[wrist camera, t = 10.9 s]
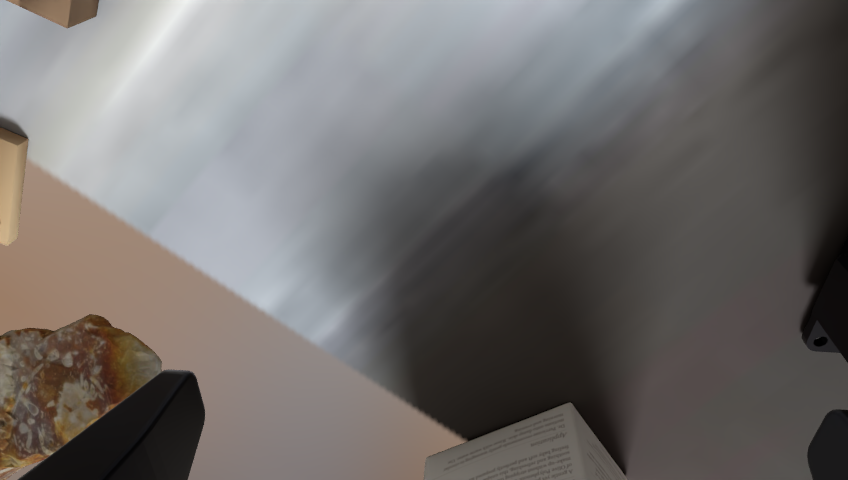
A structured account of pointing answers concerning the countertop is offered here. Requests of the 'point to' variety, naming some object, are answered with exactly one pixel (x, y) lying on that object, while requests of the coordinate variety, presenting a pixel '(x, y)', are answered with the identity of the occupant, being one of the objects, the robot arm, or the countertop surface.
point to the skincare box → (529, 452)
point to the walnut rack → (61, 10)
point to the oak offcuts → (11, 183)
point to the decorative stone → (63, 384)
